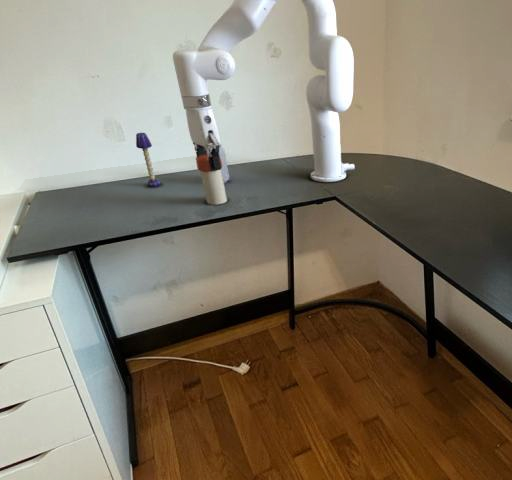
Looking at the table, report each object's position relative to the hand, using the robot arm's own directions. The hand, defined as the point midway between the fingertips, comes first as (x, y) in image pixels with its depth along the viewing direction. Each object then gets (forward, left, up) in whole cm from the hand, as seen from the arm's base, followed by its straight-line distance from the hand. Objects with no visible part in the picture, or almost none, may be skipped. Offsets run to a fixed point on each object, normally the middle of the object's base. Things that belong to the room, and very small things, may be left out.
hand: (209, 166), depth 141 cm
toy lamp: (+18, -24, -11) cm, 32 cm away
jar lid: (0, 0, +2) cm, 2 cm away
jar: (0, 0, -11) cm, 11 cm away
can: (-3, -20, -11) cm, 23 cm away
